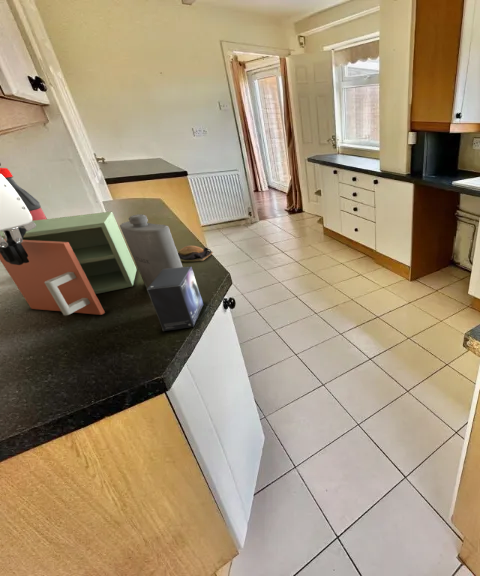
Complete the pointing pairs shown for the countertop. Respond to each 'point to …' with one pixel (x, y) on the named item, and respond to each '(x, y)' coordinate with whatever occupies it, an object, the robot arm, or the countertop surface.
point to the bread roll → (193, 253)
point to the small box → (176, 298)
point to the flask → (150, 247)
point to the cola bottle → (25, 197)
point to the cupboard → (91, 247)
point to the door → (53, 279)
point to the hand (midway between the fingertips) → (19, 262)
